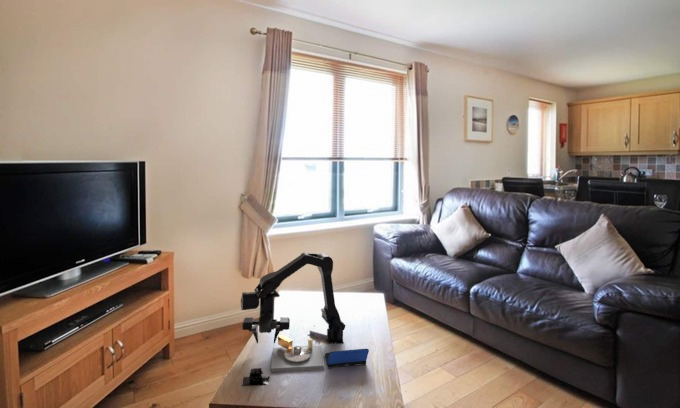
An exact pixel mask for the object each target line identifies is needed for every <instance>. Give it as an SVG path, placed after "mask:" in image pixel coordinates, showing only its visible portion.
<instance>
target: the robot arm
mask: <svg viewBox="0 0 680 408" xmlns="http://www.w3.org/2000/svg"><path fill="white" fill-rule="evenodd" d="M306 265H311V266H315V267H317V270H318V271H319V272H318V273H319V274H320V277H321V279H320V280H321V286H322V294H323V301H324V302H323V303H324V307H323V308H320V311H321V318H322V319H323V321H325V323H326V324H327V326H328V328H327V329H326V338H327V342H328V343H329V344H344V330H345V329H346V324H345V323H344V322H343V321H342V320H341V316H340V314H339V310H338V309H337V306H336V303H335V302H336V301H335V294H334V293H335V292H334V285H333V279H332V273H333V270H334V261H333V259H332V257H330V256H329V255H327V254H326V253H324V252H321V253H314V252H313V253H312V252H311V253H309V252H302V253H301V254H299V256H297V257H296V258H294V259H293V260H291V261H290V262H288V263H287V264H285V265H284V266H282V267H281V268H280V269H277V270H276V271H273V272H269V273H267V274H265V275H263V276H262V277H260V279H259V283H258V284H257V286H256V287H255V288H254V291H252V292H251V291H249V292H244V291H243V292H242V293H241V296H240V297H241V298H240V310H241V311H247V310H248V311H250V310H257V309H258V308H259V318H258V320H255V318H254V317H244V318H243V322H242V326H241V327H242V330H243V331H248V332H252V334H253V337H254V339H255V342H256V344H259V333H260V334H263V333H264V334H265V333H268V334H271V332H272V330H274V337H273V344H275V343H276V340H277V339H278V336H279V334H280V332H283V331H285V330H286V331H287V330H290V320H291V319H290V318H289V317H280V318H279V319H275V298H279V297H280V296H281V295H280V294H279V292H278V291H277V289H278V288H279V287H280V286H281V284H282V283H283V282H284V281H285V280H286V279H287V278H290V276H292V275H293V274H295V273H297V272H298V271H299V270H301V268H303V267H305V266H306Z"/></svg>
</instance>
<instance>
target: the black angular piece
mask: <svg viewBox="0 0 680 408" xmlns="http://www.w3.org/2000/svg"><path fill="white" fill-rule="evenodd" d="M270 378H271V377H270V376H269V375H263V370H262V368H251V369H250V372H249V376H243V379H242V382H243V385H242V384H241V385H242V386H241V387H256V386H269V383H270ZM242 382H241V383H242Z"/></svg>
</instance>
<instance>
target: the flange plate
mask: <svg viewBox="0 0 680 408" xmlns="http://www.w3.org/2000/svg"><path fill="white" fill-rule="evenodd" d="M277 345H278V346H280V347H284V348H286V349H287V350H286V351H285V353H284V357H285V359H286V360H287V361H289V362H292V363H301V362H304V361H307V360H308V359H309V358H310V356H311V351H310V350H309V349H308V348H306V347H303V346H304V345H303V346H302V345H295V346H294V345H293V339H291V338H289V337H287V336H285V335H284V334H280V335H278V336H277Z"/></svg>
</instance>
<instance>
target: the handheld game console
mask: <svg viewBox="0 0 680 408" xmlns="http://www.w3.org/2000/svg"><path fill="white" fill-rule="evenodd" d="M369 351H370V349H369V348H359V349H358V348H357V349H347V350H345V349H344V350H337V351H335V350H334V351H330V352H325V353H324V358H325V364H326V366H327V368H328V369H330V368H331V369H332V368H340V367H345V366H350V367H351V366H352V367H353V366H363V365H364V366H365V365H366V364H367V359H368V355H369Z"/></svg>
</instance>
